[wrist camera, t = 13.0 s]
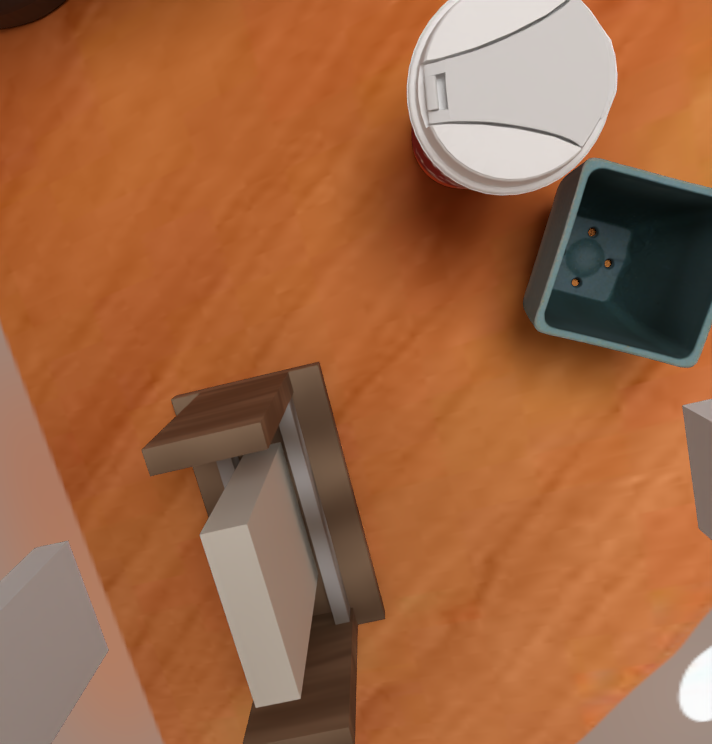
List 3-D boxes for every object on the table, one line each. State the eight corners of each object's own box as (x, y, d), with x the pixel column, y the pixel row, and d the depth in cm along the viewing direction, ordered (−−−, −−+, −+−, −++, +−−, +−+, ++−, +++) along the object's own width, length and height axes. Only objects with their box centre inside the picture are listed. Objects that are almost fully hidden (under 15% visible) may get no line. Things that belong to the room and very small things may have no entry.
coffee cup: (400, 215, 40) (420, 206, 25) (385, 75, 38) (397, -24, 23) (534, 197, 39) (634, 178, 25) (525, 55, 37) (628, -58, 23)
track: (175, 395, 42) (102, 458, 31) (319, 361, 42) (300, 412, 30) (252, 638, 46) (213, 775, 35) (384, 610, 46) (390, 741, 34)
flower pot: (626, 341, 41) (696, 371, 32) (496, 309, 41) (531, 330, 32) (673, 206, 39) (761, 199, 30) (537, 171, 39) (586, 154, 30)
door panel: (244, 450, 42) (197, 535, 30) (280, 442, 42) (247, 524, 30) (283, 581, 44) (253, 708, 32) (318, 574, 44) (300, 699, 32)
